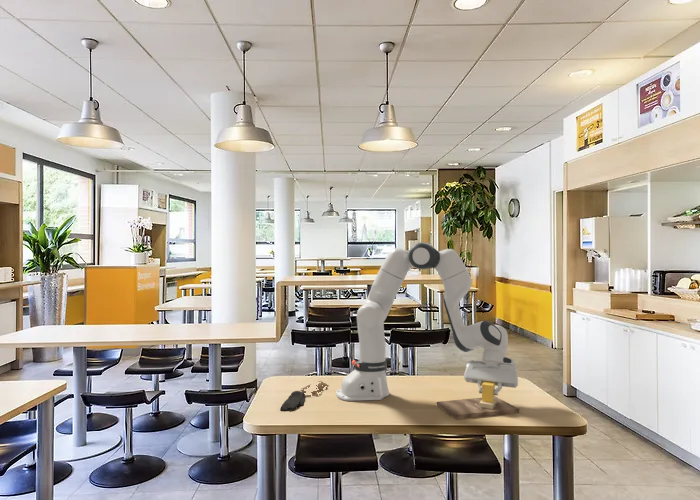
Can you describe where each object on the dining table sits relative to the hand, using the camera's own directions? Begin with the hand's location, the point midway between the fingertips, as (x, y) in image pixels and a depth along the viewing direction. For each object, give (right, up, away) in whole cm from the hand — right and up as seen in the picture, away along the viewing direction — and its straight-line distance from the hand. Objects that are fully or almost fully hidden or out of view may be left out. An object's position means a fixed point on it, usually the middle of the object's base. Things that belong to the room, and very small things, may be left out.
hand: (488, 393), depth 188 cm
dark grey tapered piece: (-74, -7, +9) cm, 75 cm away
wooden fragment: (-68, -7, +28) cm, 74 cm away
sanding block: (0, -4, +1) cm, 4 cm away
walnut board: (-4, -6, 0) cm, 7 cm away
